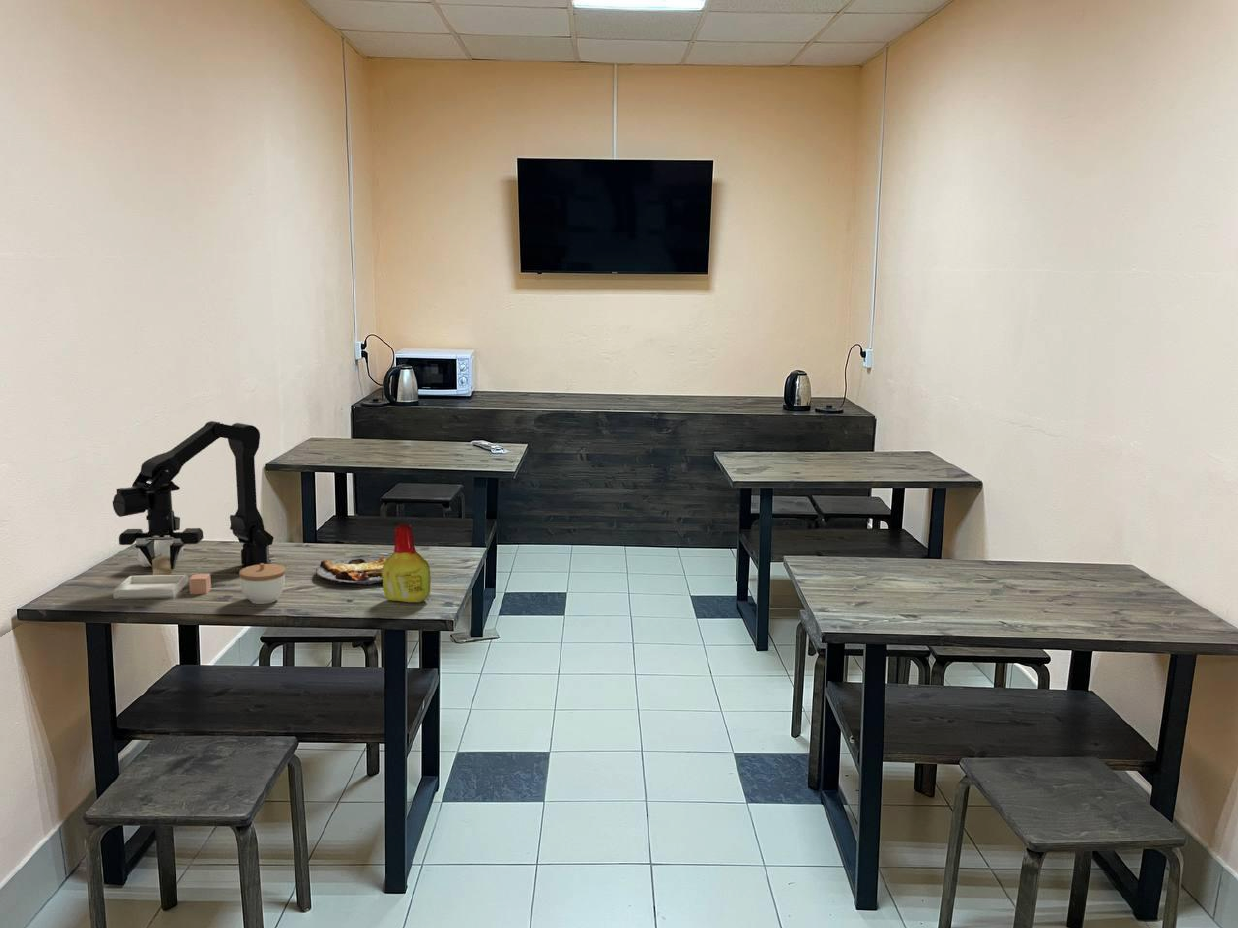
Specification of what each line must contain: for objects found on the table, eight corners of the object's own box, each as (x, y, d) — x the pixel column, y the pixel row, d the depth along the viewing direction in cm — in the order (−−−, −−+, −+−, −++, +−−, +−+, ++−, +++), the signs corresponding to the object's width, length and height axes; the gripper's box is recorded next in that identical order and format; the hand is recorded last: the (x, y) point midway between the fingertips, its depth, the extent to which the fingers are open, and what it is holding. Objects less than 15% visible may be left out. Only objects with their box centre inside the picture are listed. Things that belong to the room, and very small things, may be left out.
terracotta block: (211, 588, 247) (210, 573, 246) (206, 593, 243) (205, 578, 242) (194, 589, 246) (193, 574, 246) (190, 594, 242) (189, 578, 242)
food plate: (321, 591, 247) (321, 578, 246) (310, 567, 267) (310, 555, 267) (418, 584, 257) (418, 571, 256) (400, 561, 278) (401, 549, 277)
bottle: (379, 603, 239) (377, 525, 235) (388, 595, 245) (386, 519, 242) (425, 606, 238) (424, 528, 234) (433, 598, 244) (432, 521, 240)
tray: (187, 582, 251) (187, 574, 250) (173, 597, 239) (173, 589, 239) (130, 583, 249) (130, 575, 248) (113, 599, 237) (113, 590, 237)
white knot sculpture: (169, 573, 258) (167, 541, 256) (124, 572, 258) (122, 540, 256) (188, 561, 269) (186, 530, 267) (146, 560, 269) (144, 529, 268)
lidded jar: (243, 609, 232) (241, 572, 231) (238, 596, 242) (236, 560, 240) (289, 603, 237) (288, 567, 235) (282, 591, 246) (281, 555, 245)
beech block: (174, 570, 248) (173, 555, 247) (169, 575, 244) (168, 559, 243) (158, 570, 247) (157, 555, 246) (153, 575, 243) (152, 560, 242)
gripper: (207, 501, 252) (210, 559, 254) (131, 502, 249) (135, 560, 252) (195, 511, 241) (199, 571, 244) (115, 512, 238) (120, 573, 241)
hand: (163, 569), depth 245 cm, fingers closed on beech block, 4 cm apart
